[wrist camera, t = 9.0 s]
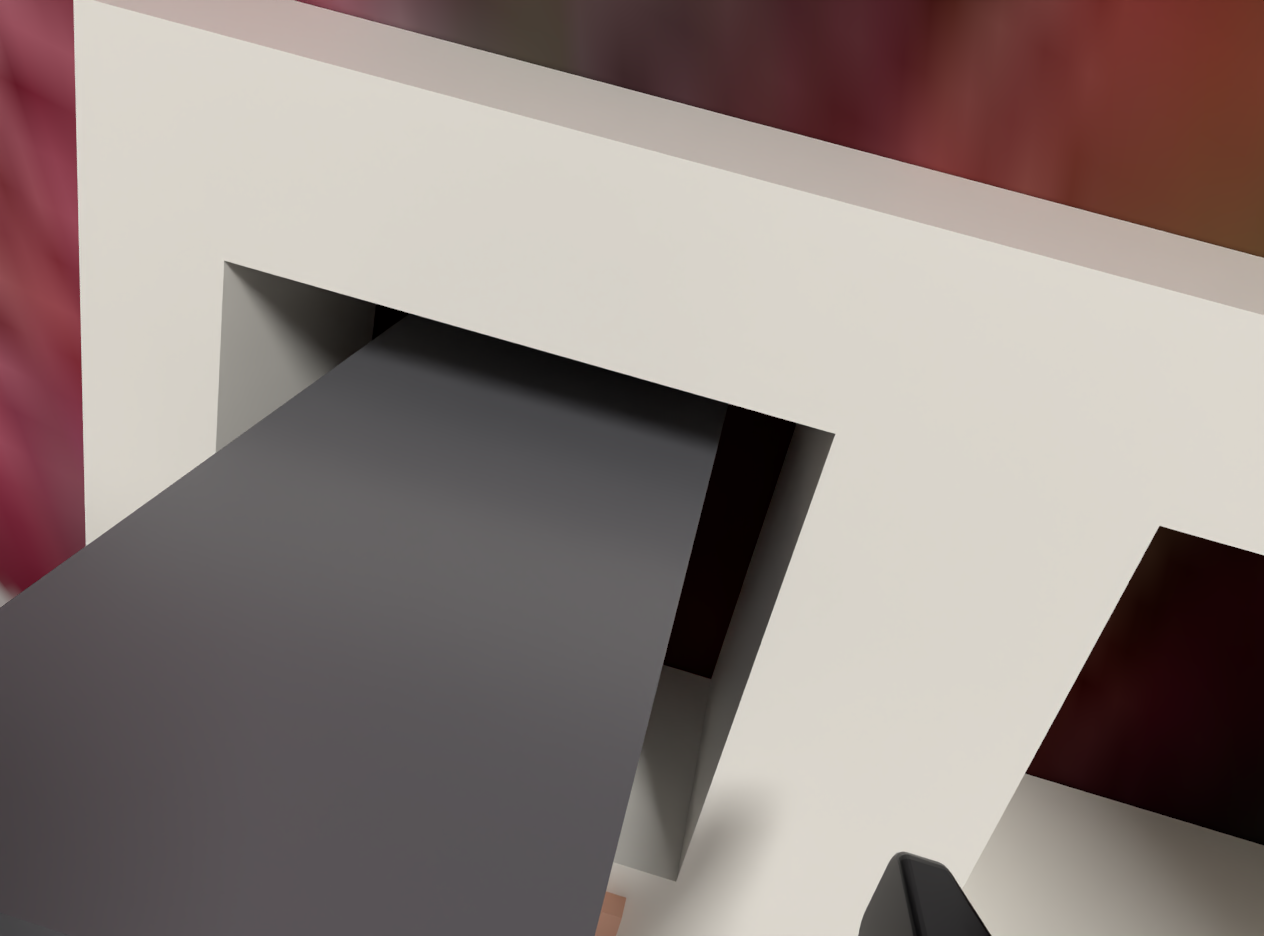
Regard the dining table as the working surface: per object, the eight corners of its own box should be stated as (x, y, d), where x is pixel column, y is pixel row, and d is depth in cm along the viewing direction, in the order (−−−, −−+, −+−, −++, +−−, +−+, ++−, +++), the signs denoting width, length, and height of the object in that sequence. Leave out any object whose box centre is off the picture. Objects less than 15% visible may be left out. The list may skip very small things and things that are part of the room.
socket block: (1793, 398, 11) (2301, 600, 7) (1258, 1049, 16) (1390, 1365, 13) (292, 0, 12) (49, -6, 8) (243, 731, 18) (79, 933, 14)
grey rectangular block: (738, 361, 13) (516, 1249, 4) (668, 604, 15) (395, 1632, 5) (453, 281, 13) (-443, 925, 4) (416, 531, 15) (-265, 1391, 6)
